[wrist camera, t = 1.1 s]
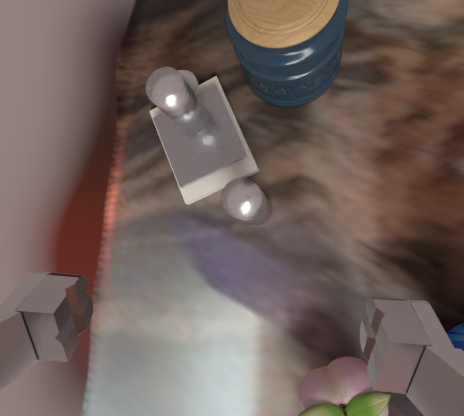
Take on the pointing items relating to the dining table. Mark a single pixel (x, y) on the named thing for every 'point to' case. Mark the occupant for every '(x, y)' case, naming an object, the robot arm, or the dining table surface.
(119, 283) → the dining table surface
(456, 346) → the beer can
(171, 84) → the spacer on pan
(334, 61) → the canister
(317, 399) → the decorative fruit
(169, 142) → the grey square plate
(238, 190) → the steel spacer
